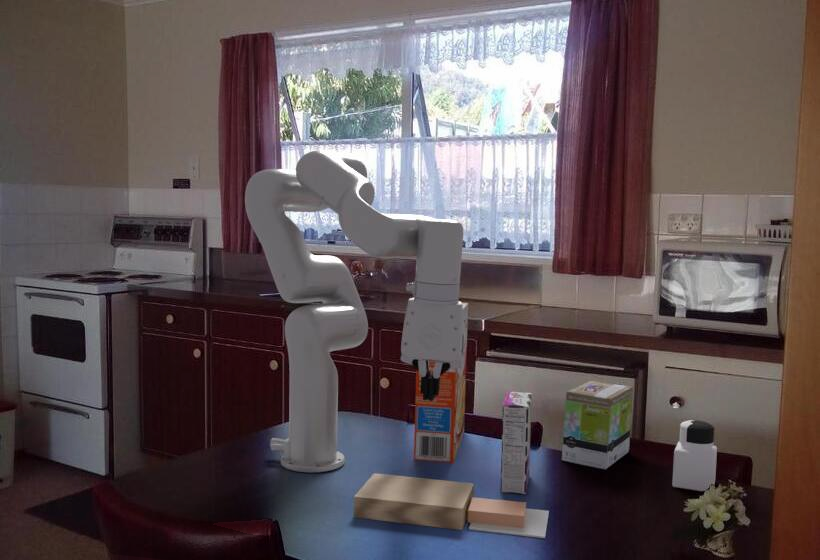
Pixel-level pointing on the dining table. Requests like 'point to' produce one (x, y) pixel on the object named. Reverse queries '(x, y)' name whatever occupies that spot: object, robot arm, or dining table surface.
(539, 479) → the dining table surface
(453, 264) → the robot arm
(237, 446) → the dining table surface
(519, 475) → the candy bar box
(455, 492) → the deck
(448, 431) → the pasta box
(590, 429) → the tea box
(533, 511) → the mat
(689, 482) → the medicine bottle
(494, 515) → the block
